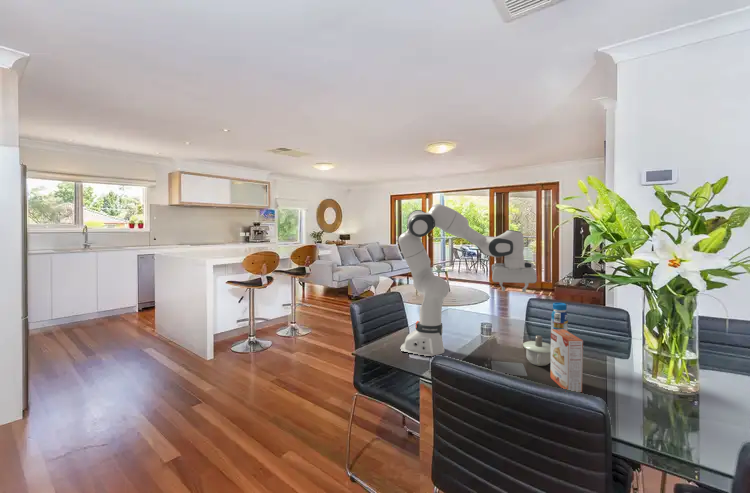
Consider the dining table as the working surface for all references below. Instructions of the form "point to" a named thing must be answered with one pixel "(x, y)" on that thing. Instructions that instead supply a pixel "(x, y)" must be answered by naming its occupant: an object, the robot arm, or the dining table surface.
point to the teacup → (538, 358)
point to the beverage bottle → (559, 316)
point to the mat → (509, 368)
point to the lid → (538, 345)
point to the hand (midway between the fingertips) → (513, 291)
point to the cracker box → (566, 360)
